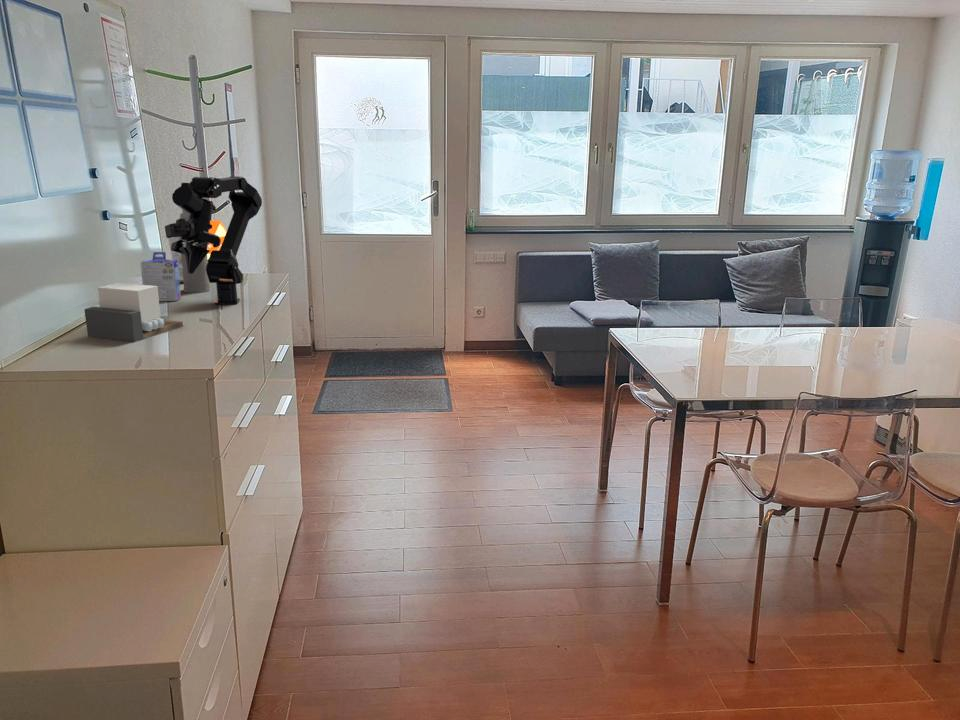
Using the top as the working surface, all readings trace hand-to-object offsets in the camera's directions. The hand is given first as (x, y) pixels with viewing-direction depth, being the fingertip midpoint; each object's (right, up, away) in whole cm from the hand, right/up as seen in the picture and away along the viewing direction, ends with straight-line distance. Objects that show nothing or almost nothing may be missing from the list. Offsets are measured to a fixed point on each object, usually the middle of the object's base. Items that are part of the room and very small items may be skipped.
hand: (190, 273), depth 207 cm
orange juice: (-16, +6, +65) cm, 68 cm away
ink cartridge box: (-17, -6, +23) cm, 30 cm away
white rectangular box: (-9, -16, -16) cm, 24 cm away
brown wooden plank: (-8, -17, -14) cm, 23 cm away
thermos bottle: (-13, -1, +39) cm, 41 cm away
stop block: (-10, -18, -21) cm, 30 cm away
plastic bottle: (-23, +3, +52) cm, 57 cm away
